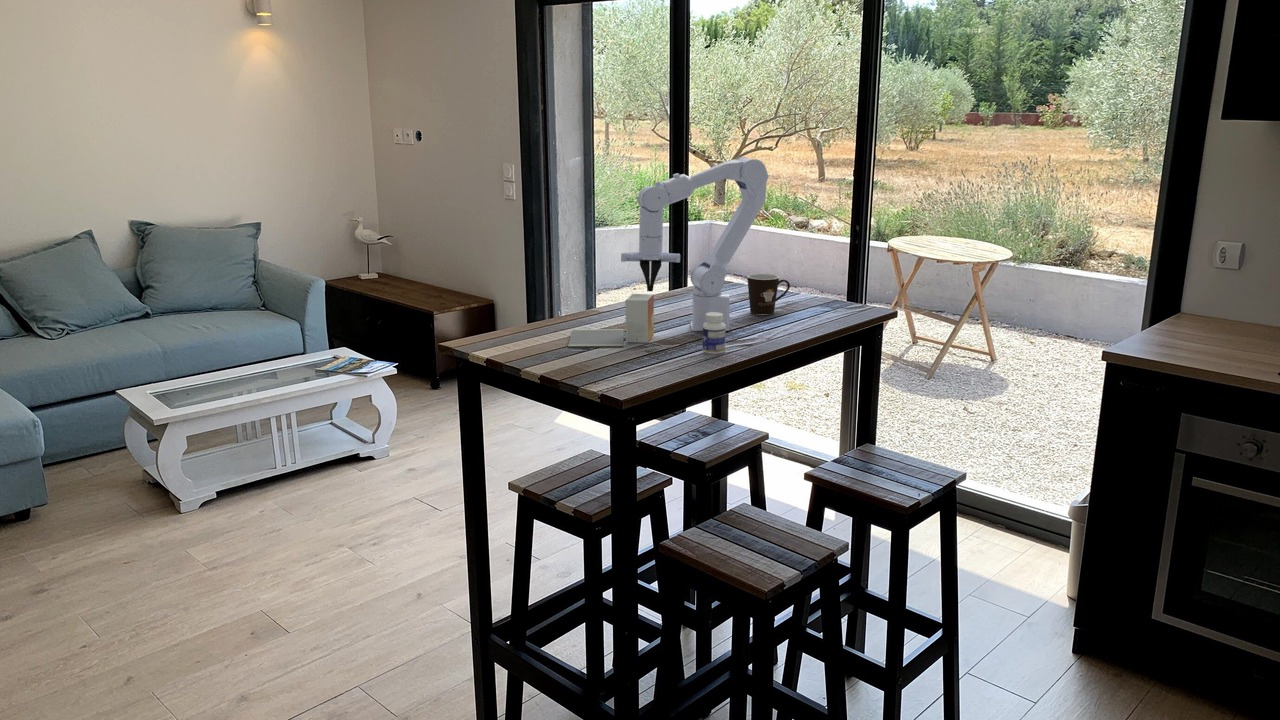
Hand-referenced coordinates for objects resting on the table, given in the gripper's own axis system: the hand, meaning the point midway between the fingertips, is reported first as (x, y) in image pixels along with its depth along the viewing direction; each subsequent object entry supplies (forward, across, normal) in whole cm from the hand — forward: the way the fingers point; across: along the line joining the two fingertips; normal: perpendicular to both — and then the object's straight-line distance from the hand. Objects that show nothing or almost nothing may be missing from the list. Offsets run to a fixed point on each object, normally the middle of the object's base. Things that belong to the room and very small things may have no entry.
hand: (649, 290), depth 230 cm
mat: (+11, -13, -8) cm, 18 cm away
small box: (+11, -2, -8) cm, 13 cm away
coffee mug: (+10, +33, +20) cm, 40 cm away
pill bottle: (+10, +15, -20) cm, 27 cm away
